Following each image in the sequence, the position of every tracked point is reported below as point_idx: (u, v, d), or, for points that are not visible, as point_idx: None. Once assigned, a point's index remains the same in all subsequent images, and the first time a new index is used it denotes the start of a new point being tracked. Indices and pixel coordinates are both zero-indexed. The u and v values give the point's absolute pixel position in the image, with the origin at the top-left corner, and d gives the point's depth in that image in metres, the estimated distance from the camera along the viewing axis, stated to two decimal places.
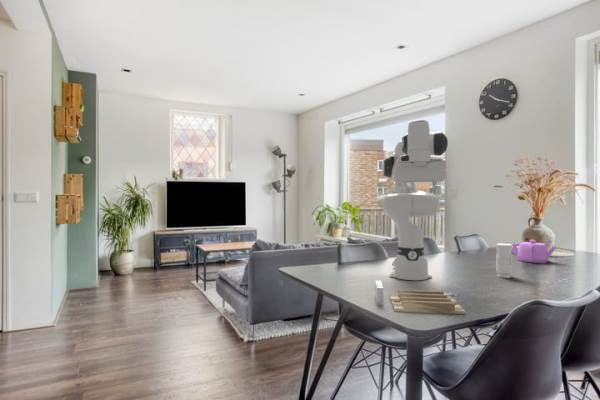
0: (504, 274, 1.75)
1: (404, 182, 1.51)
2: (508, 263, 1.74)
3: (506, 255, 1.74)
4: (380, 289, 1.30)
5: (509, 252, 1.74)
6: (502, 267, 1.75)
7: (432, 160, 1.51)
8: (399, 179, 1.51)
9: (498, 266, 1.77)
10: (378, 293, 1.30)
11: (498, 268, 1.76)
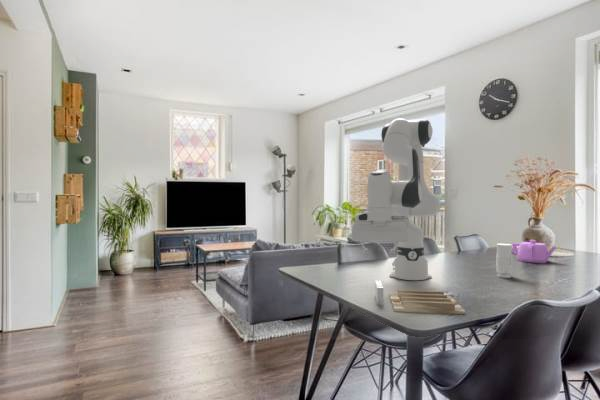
0: (504, 274, 1.75)
1: (362, 242, 1.36)
2: (508, 263, 1.74)
3: (506, 255, 1.74)
4: (380, 289, 1.30)
5: (509, 252, 1.74)
6: (502, 267, 1.75)
7: (394, 218, 1.35)
8: (356, 239, 1.35)
9: (498, 266, 1.77)
10: (378, 293, 1.30)
11: (498, 268, 1.76)
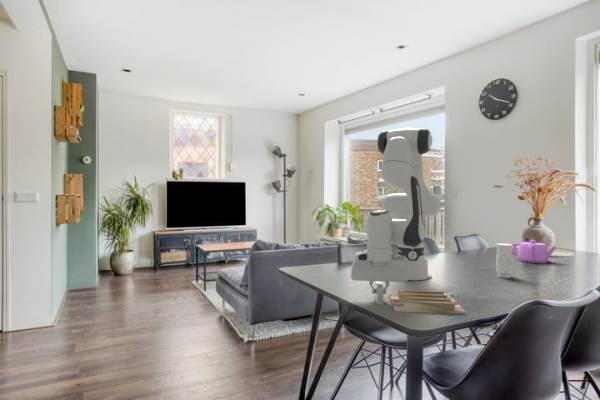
0: (504, 274, 1.75)
1: (371, 282, 1.36)
2: (508, 263, 1.74)
3: (506, 255, 1.74)
4: (380, 289, 1.30)
5: (509, 252, 1.74)
6: (502, 267, 1.75)
7: (393, 257, 1.35)
8: (356, 279, 1.36)
9: (498, 266, 1.77)
10: (378, 293, 1.30)
11: (498, 268, 1.76)
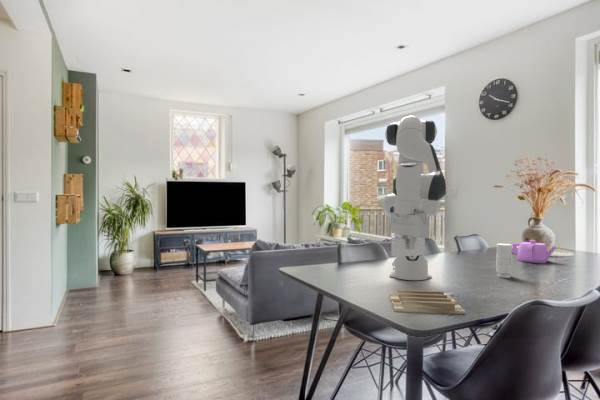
0: (504, 274, 1.75)
1: (401, 236, 1.35)
2: (508, 263, 1.74)
3: (506, 255, 1.74)
4: (392, 240, 1.31)
5: (509, 252, 1.74)
6: (502, 267, 1.75)
7: (415, 211, 1.27)
8: (392, 231, 1.39)
9: (498, 266, 1.77)
10: (391, 244, 1.31)
11: (498, 268, 1.76)
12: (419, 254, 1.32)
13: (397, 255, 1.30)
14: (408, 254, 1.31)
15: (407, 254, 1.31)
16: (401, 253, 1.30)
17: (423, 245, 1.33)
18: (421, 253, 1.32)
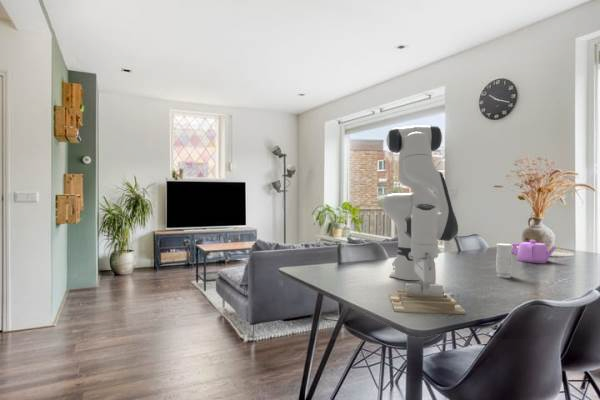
0: (504, 274, 1.75)
1: (419, 277, 1.34)
2: (508, 263, 1.74)
3: (506, 255, 1.74)
4: (406, 285, 1.31)
5: (509, 252, 1.74)
6: (502, 267, 1.75)
7: (425, 256, 1.25)
8: (415, 271, 1.38)
9: (498, 266, 1.77)
10: None
11: (498, 268, 1.76)
12: None
13: None
14: None
15: None
16: None
17: (441, 292, 1.29)
18: None
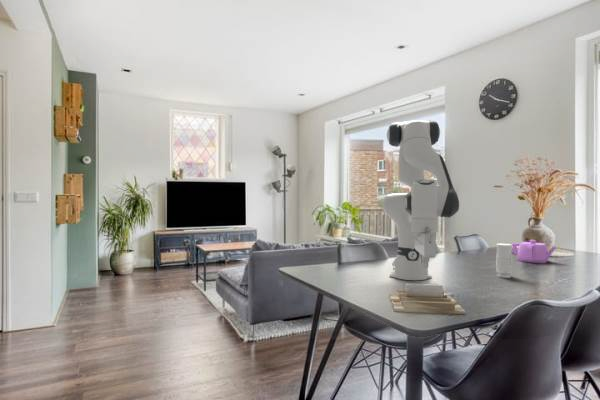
0: (504, 274, 1.75)
1: (419, 253, 1.33)
2: (508, 263, 1.74)
3: (506, 255, 1.74)
4: (406, 285, 1.31)
5: (509, 252, 1.74)
6: (502, 267, 1.75)
7: (425, 230, 1.25)
8: (415, 248, 1.38)
9: (498, 266, 1.77)
10: None
11: (498, 268, 1.76)
12: None
13: None
14: None
15: None
16: None
17: (441, 292, 1.29)
18: None
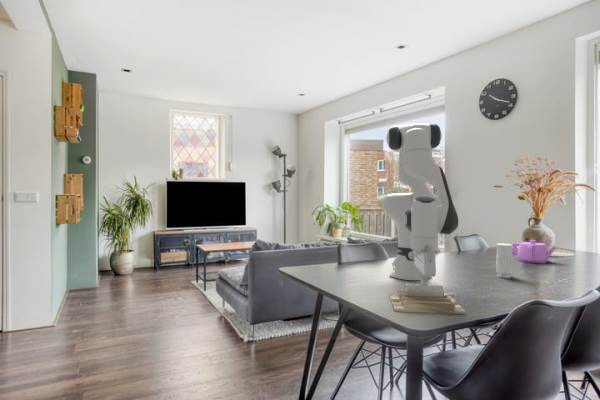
0: (504, 274, 1.75)
1: (420, 271, 1.32)
2: (508, 263, 1.74)
3: (506, 255, 1.74)
4: (406, 285, 1.31)
5: (509, 252, 1.74)
6: (502, 267, 1.75)
7: (425, 248, 1.25)
8: (415, 265, 1.38)
9: (498, 266, 1.77)
10: None
11: (498, 268, 1.76)
12: None
13: None
14: None
15: None
16: None
17: (441, 292, 1.29)
18: None
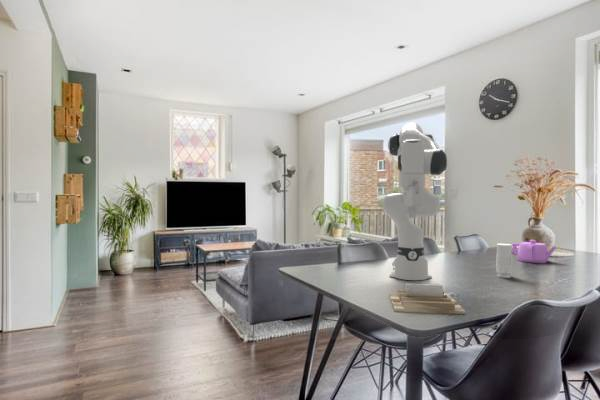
0: (504, 274, 1.75)
1: (409, 207, 1.45)
2: (508, 263, 1.74)
3: (506, 255, 1.74)
4: (406, 285, 1.31)
5: (509, 252, 1.74)
6: (502, 267, 1.75)
7: (413, 183, 1.38)
8: (405, 204, 1.51)
9: (498, 266, 1.77)
10: None
11: (498, 268, 1.76)
12: None
13: None
14: None
15: None
16: None
17: (441, 292, 1.29)
18: None
